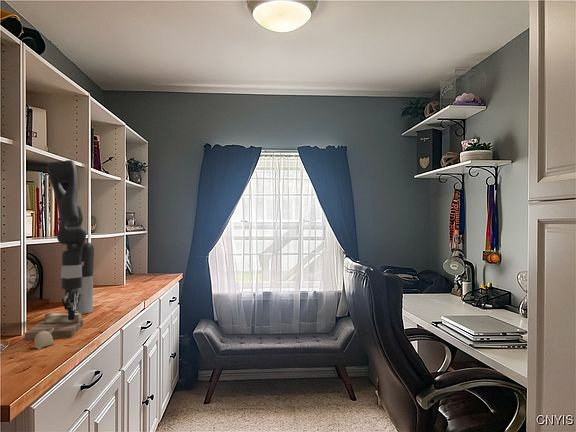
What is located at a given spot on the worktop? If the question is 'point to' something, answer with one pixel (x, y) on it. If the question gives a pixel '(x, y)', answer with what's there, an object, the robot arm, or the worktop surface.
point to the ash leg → (61, 318)
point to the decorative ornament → (43, 339)
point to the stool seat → (55, 329)
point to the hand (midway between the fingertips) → (71, 319)
